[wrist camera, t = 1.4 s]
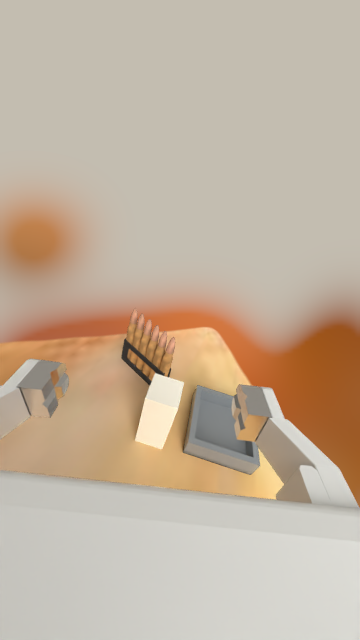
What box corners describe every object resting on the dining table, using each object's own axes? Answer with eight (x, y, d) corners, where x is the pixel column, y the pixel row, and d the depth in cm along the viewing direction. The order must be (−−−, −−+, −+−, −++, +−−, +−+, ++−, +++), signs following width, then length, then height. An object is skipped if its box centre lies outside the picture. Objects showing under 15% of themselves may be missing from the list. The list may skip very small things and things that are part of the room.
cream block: (135, 440, 31) (145, 398, 25) (144, 415, 34) (155, 373, 29) (161, 449, 31) (178, 408, 25) (168, 423, 34) (184, 382, 28)
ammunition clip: (166, 388, 39) (182, 338, 32) (159, 394, 38) (174, 343, 31) (128, 354, 44) (136, 304, 37) (121, 358, 42) (127, 306, 36)
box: (183, 452, 31) (188, 442, 29) (192, 395, 39) (197, 385, 38) (250, 474, 31) (260, 465, 29) (246, 412, 39) (253, 402, 37)
